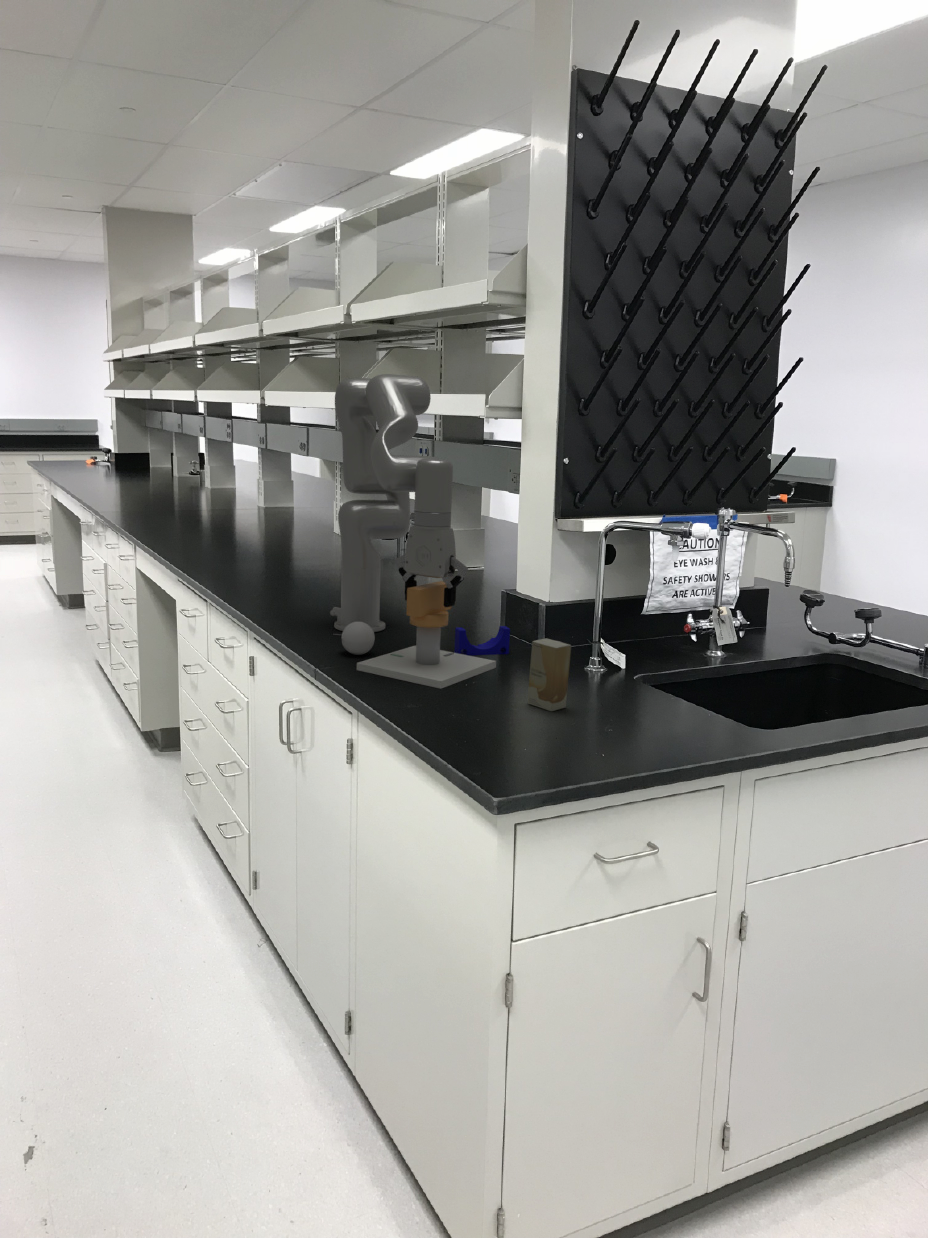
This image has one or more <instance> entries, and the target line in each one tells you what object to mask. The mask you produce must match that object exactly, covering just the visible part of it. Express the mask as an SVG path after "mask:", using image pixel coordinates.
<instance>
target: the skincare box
mask: <svg viewBox="0 0 928 1238" xmlns="http://www.w3.org/2000/svg"><path fill="white" fill-rule="evenodd" d="M571 652H572V645H571V644H569V643H566V642H562V641H559V640H554V639H550V638H547V637H546V638H542V639H540V638H539V639H537V640H532V642H531V653H530V654H531V655H530V664H529V665H530V666H529V675H528V676H529V677H528V678H529V679H528V690H527V691H528V692H527V704H528V705H531V706H535V707H538V708H540V709H542V710H546V711H549V712H554V711H557V710H561V709H565V708H566V706H567V698H568V697H567V695H568V685H569V675H570V666H571V665H570V662H571Z"/></svg>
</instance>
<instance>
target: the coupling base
mask: <svg viewBox="0 0 928 1238" xmlns="http://www.w3.org/2000/svg"><path fill="white" fill-rule="evenodd" d="M441 629H442V627H434V628H429V627H419V626H416V639H415V640H416V645H412V646H409V647H405V648H402V649H399V650H395V651H392V652H390V653H386V654H383V655H382V654H381V655H379V656H376V657H372V658H369V659H365V660H363V661H359V662H356V671H359V672H364V673H368V674H371V675H372V674H374V675H376V676H377V675H378V676H382V677H386V678H391V679H396V680H401V681H404V682H410V683H413V684H417V685H418V684H419V685H422V686H426V687H427V686H428V687H431V688H436V689H443V688H447V687H449V686H452V685H455V684H456V683H460V682H462V681H466V680H467V679H471V678H472V677H474V676H475V677H476V676H478V675H480V674H483V673H486V672H488V671H492V670H494V669H497V660H493V659H489V658H488V659H487V658H482V657H478V656H474V655H469V656H468V655H463V654H458V653H454V651H453V652H452V651H448V650H443V649H441V634H442V633H441V631H442V630H441Z"/></svg>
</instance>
